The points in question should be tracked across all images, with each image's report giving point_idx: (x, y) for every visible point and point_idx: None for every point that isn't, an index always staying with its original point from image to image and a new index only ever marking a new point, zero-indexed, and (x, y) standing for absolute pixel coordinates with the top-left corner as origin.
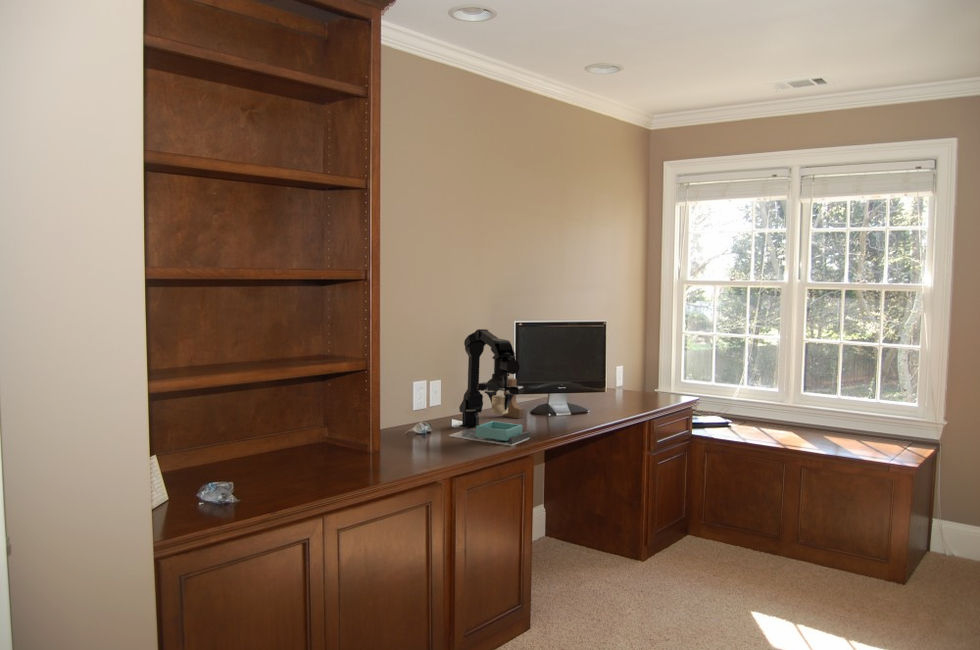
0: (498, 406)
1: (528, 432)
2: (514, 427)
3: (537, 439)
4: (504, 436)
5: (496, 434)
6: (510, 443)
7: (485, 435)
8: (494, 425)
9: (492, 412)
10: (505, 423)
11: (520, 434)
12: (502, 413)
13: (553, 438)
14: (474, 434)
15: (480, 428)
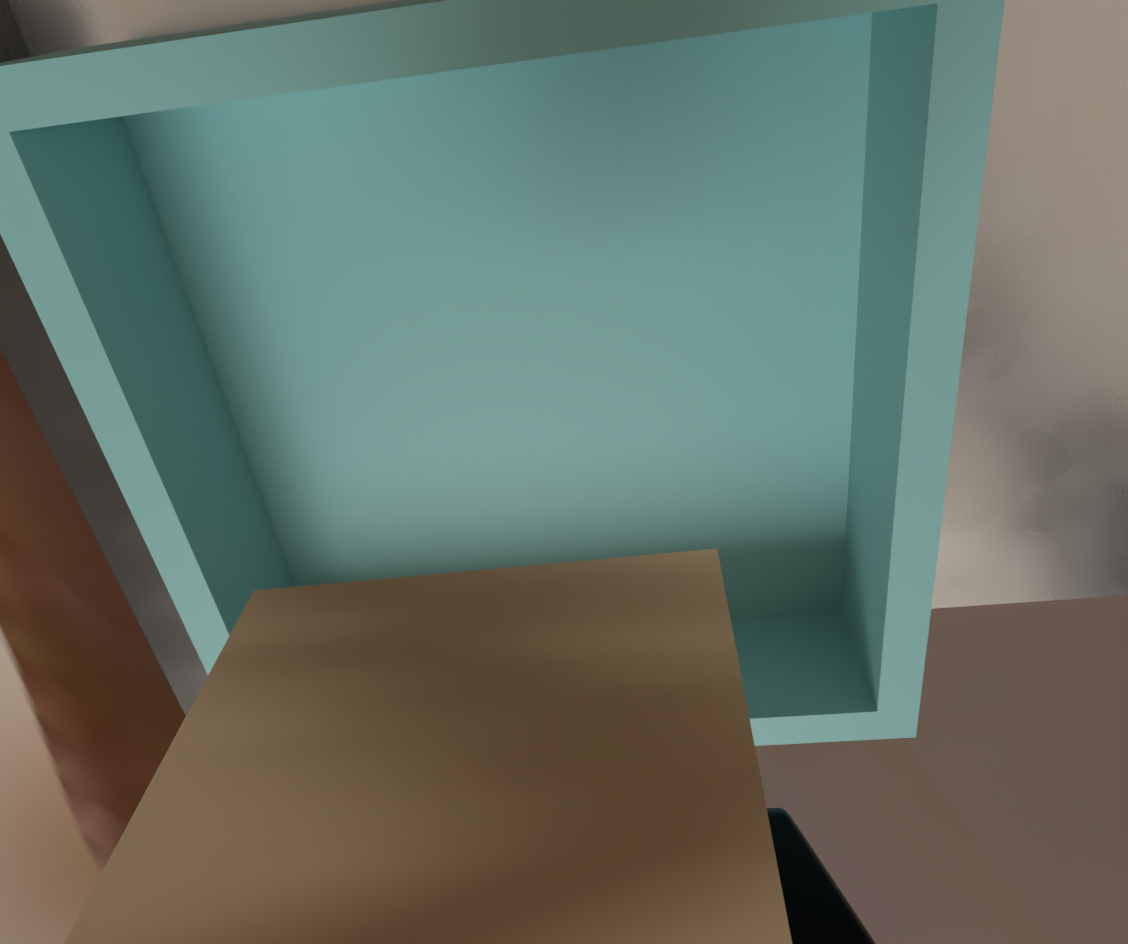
0: (351, 831)
1: (174, 684)
2: (161, 530)
3: (147, 675)
4: (84, 49)
5: (296, 18)
6: None
7: None
8: (828, 657)
9: (676, 574)
10: None
11: (87, 471)
12: (241, 619)
13: (85, 811)
14: (1087, 263)
15: None
